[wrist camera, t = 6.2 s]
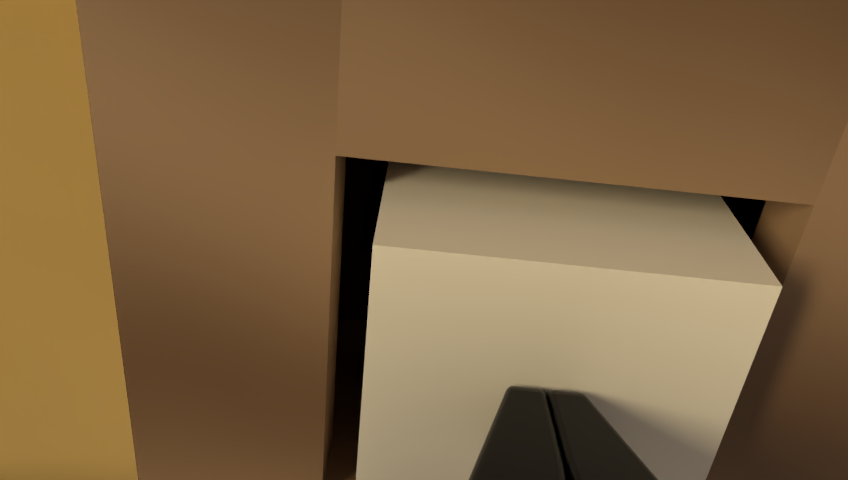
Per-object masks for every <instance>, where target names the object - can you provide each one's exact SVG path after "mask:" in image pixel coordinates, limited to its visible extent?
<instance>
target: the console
mask: <svg viewBox="0 0 848 480" xmlns="http://www.w3.org/2000/svg"><path fill="white" fill-rule="evenodd" d="M76 6H77V13H78V21H79V29H80V36H81V44H82V52H83V59H84V67H85V75H86V82H87V90H88V98H89V105H90V113H91V121H92V128H93V136H94V144H95V151H96V159H97V167H98V174H99V182H100V190H101V197H102V205H103V213H104V220H105V228H106V236H107V243H108V251H109V259H110V266H111V274H112V282H113V289H114V297H115V305H116V312H117V320H118V328H119V335H120V343H121V351H122V358H123V366H124V374H125V381H126V389H127V397H128V404H129V412H130V419H131V427H132V435H133V442H134V450H135V458H136V465H137V473H138V480H356V470H357V456H358V442H359V428H360V414H361V400H362V386H363V372H364V358H365V344H366V331H367V322H364V321H354V320H344V319H338V313H339V292H340V271H341V251H342V230H343V209H344V188H345V168H346V157H353V158H362V159H372V160H382V161H391V162H401V163H411V164H420V165H430V166H440V167H449V168H459V169H469V170H478V171H488V172H498V173H507V174H517V175H526V176H536V177H546V178H555V179H565V180H575V181H584V182H594V183H604V184H613V185H623V186H633V187H642V188H652V189H662V190H671V191H681V192H690V193H700V194H710V195H719V196H729V197H739V198H748V199H758V200H765V203H764V206H763V208H762V211H761V214H760V217H759V220H758V222H757V225H756V228H755V231H754V234H753V236H752V239H751V241H752V243H753V244H754V246H755V247H756V249H757V250H758V251H759V253H760V254H761V256H762V257H763V259H764V260H765V262H766V263H767V265H768V266H769V268H770V269H771V270H772V272H773V273H774V275H775V276H776V278H777V279H778V281H779V282H780V284H781V285H782V289H781V292H780V294H779V297H778V299H777V302H776V304H775V307H774V310H773V312H772V315H771V317H770V320H769V322H768V325H767V327H766V330H765V332H764V335H763V337H762V340H761V342H760V345H759V347H758V350H757V352H756V355H755V357H754V360H753V362H752V365H751V367H750V370H749V372H748V375H747V377H746V380H745V382H744V385H743V387H742V390H741V392H740V395H739V398H738V400H737V403H736V405H735V408H734V410H733V413H732V415H731V418H730V420H729V423H728V425H727V428H726V430H725V433H724V435H723V438H722V440H721V443H720V445H719V448H718V450H717V453H716V455H715V458H714V460H713V463H712V465H711V468H710V470H709V473H708V475H707V478H706V480H848V0H76Z"/></svg>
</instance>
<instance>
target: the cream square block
mask: <svg viewBox="0 0 848 480" xmlns="http://www.w3.org/2000/svg"><path fill="white" fill-rule="evenodd" d="M781 289H782V285H781V284H780V282H779V281H778V279H777V278H776V276H775V275H774V273H773V272H772V270H771V269H770V268H769V266H768V265H767V263H766V262H765V260H764V259H763V257H762V256H761V254H760V253H759V251H758V250H757V249H756V247H755V246H754V244H753V243H752V241H751V240H750V238H749V237H748V235H747V234H746V232H745V231H744V229H743V228H742V227H741V225H740V224H739V222H738V221H737V219H736V218H735V216H734V215H733V213H732V212H731V210H730V209H729V208H728V206H727V205H726V203H725V202H724V200H723V199H722V197H721V196H719V195H710V194H700V193H690V192H681V191H671V190H662V189H652V188H642V187H633V186H623V185H613V184H604V183H594V182H584V181H575V180H565V179H555V178H546V177H536V176H526V175H517V174H507V173H498V172H488V171H478V170H469V169H459V168H449V167H440V166H430V165H420V164H411V163H401V162H391V161H389V163H388V168H387V173H386V178H385V184H384V189H383V194H382V199H381V204H380V210H379V215H378V220H377V225H376V230H375V235H374V241H373V247H372V261H371V275H370V289H369V303H368V317H367V331H366V344H365V358H364V372H363V386H362V400H361V414H360V428H359V442H358V456H357V470H356V480H469V477H470V475H471V473H472V470H473V468H474V465H475V463H476V461H477V458H478V456H479V453H480V451H481V449H482V446H483V444H484V442H485V439H486V437H487V434H488V432H489V430H490V427H491V425H492V422H493V420H494V418H495V415H496V413H497V411H498V408H499V406H500V403H501V401H502V399H503V396H504V394H505V392H506V390H507V388H508V387H510V386H519V387H529V388H539V389H541V390H543V391H544V392H545V394H546V393H547V392H548V391H550V390H559V391H569V392H579V393H582V394H584V395H585V396H586V397H587V398H588V399H589V400H590V401H591V402H592V403H593V404H594V406H595V407H596V408H597V409H598V410H599V411H600V413H601V414H602V415H603V416H604V417H605V418H606V420H607V421H608V422H609V423H610V424H611V425H612V427H613V428H614V429H615V430H616V431H617V432H618V434H619V435H620V436H621V437H622V438H623V439H624V440H625V442H626V443H627V444H628V445H629V446H630V447H631V449H632V450H633V451H634V452H635V453H636V454H637V456H638V457H639V458H640V459H641V460H642V461H643V463H644V464H645V465H646V466H647V467H648V468H649V470H650V471H651V472H652V473H653V474H654V475H655V477H656V478H657V479H658V480H706V478H707V475H708V473H709V470H710V468H711V465H712V463H713V460H714V458H715V455H716V453H717V450H718V448H719V445H720V443H721V440H722V438H723V435H724V433H725V430H726V428H727V425H728V423H729V420H730V418H731V415H732V413H733V410H734V408H735V405H736V403H737V400H738V398H739V395H740V392H741V390H742V387H743V385H744V382H745V380H746V377H747V375H748V372H749V370H750V367H751V365H752V362H753V360H754V357H755V355H756V352H757V350H758V347H759V345H760V342H761V340H762V337H763V335H764V332H765V330H766V327H767V325H768V322H769V320H770V317H771V315H772V312H773V310H774V307H775V304H776V302H777V299H778V297H779V294H780V292H781Z"/></svg>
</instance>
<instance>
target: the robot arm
mask: <svg viewBox="0 0 848 480" xmlns="http://www.w3.org/2000/svg"><path fill="white" fill-rule="evenodd" d="M469 480H658V479H657V478H656V477H655V475H654V474H653V473H652V472H651V471H650V470H649V468H648V467H647V466H646V465H645V464H644V463H643V461H642V460H641V459H640V458H639V457H638V456H637V454H636V453H635V452H634V451H633V450H632V449H631V447H630V446H629V445H628V444H627V443H626V442H625V440H624V439H623V438H622V437H621V436H620V435H619V434H618V432H617V431H616V430H615V429H614V428H613V427H612V425H611V424H610V423H609V422H608V421H607V420H606V418H605V417H604V416H603V415H602V414H601V413H600V411H599V410H598V409H597V408H596V407H595V406H594V404H593V403H592V402H591V401H590V400H589V399H588V398H587V397H586V396H585V395H584V394H582V393H579V392H569V391H559V390H550V391H548V392H547V393H546V394H545V392H544V391H543V390H541V389H539V388H529V387H519V386H510V387H508V388H507V390H506V392H505V394H504V396H503V399H502V401H501V403H500V406H499V408H498V411H497V413H496V415H495V418H494V420H493V422H492V425H491V427H490V430H489V432H488V434H487V437H486V439H485V442H484V444H483V446H482V449H481V451H480V453H479V456H478V458H477V461H476V463H475V465H474V468H473V470H472V473H471V475H470V477H469Z"/></svg>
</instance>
